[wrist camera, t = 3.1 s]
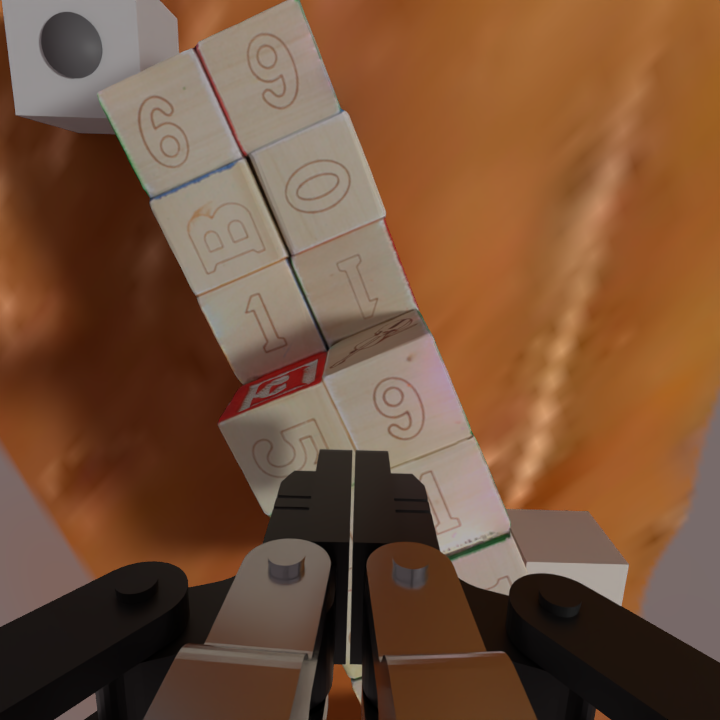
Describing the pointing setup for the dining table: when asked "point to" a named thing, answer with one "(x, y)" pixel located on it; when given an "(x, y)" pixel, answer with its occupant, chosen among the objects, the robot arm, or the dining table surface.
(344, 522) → the robot arm
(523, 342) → the dining table surface
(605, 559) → the ivory marked cube
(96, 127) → the grey marked cube
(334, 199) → the stack of blocks
